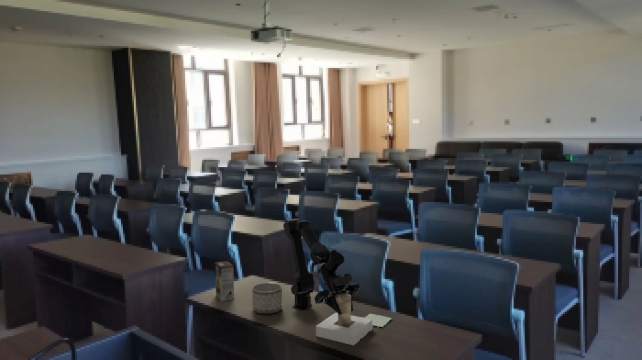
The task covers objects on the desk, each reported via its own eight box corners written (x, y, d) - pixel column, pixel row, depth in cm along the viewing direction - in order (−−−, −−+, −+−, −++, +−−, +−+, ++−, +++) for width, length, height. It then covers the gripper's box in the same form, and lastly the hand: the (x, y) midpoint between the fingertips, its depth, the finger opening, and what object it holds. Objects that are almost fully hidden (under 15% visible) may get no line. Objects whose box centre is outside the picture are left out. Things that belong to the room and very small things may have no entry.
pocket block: (316, 336, 187) (316, 326, 186) (336, 321, 200) (336, 312, 200) (353, 345, 179) (353, 335, 178) (372, 329, 192) (372, 319, 192)
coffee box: (215, 295, 232) (214, 262, 230) (228, 293, 235) (227, 260, 233) (221, 301, 224) (220, 267, 222) (234, 299, 227) (233, 265, 225)
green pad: (359, 323, 198) (359, 321, 198) (369, 314, 207) (369, 313, 207) (382, 328, 193) (382, 326, 193) (391, 319, 202) (392, 318, 202)
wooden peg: (335, 329, 188) (335, 296, 187) (341, 324, 193) (341, 292, 191) (347, 331, 186) (347, 298, 184) (353, 327, 190) (353, 294, 189)
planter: (269, 318, 204) (268, 294, 203) (246, 311, 211) (246, 288, 210) (287, 308, 215) (287, 285, 214) (265, 302, 222) (265, 280, 221)
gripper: (318, 271, 185) (334, 308, 177) (357, 263, 195) (375, 298, 187) (307, 285, 192) (323, 321, 184) (346, 277, 202) (362, 311, 194)
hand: (346, 312), depth 187 cm, fingers closed on wooden peg, 5 cm apart
